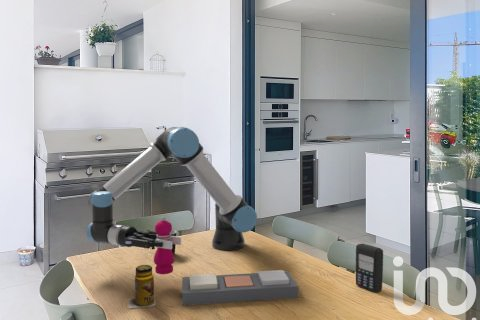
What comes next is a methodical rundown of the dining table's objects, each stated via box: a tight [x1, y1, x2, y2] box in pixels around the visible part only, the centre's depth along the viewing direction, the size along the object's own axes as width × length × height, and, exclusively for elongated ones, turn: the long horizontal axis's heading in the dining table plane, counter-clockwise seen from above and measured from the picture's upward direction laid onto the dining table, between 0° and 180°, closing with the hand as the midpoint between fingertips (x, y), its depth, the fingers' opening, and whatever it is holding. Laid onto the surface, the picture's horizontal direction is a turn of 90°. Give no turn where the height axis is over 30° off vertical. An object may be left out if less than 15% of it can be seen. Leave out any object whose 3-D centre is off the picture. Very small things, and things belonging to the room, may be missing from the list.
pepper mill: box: [153, 216, 175, 275], centre depth 153 cm, size 7×7×20 cm
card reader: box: [355, 243, 384, 293], centre depth 149 cm, size 9×4×15 cm, turn 37°
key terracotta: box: [224, 275, 254, 288], centre depth 147 cm, size 9×9×3 cm
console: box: [181, 270, 299, 306], centre depth 147 cm, size 14×38×4 cm, turn 97°
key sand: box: [189, 273, 218, 290], centre depth 145 cm, size 9×9×3 cm
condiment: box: [128, 264, 157, 309], centre depth 140 cm, size 7×8×12 cm
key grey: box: [257, 269, 289, 286], centre depth 148 cm, size 9×9×3 cm
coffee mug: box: [156, 229, 178, 256], centre depth 190 cm, size 12×9×10 cm
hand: (176, 243), depth 151 cm, fingers closed on pepper mill, 5 cm apart
